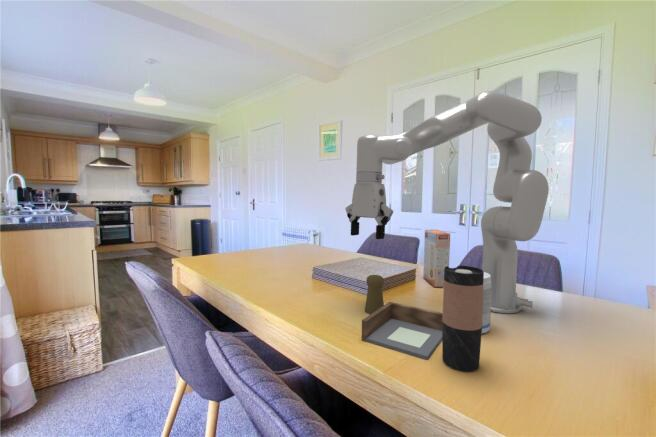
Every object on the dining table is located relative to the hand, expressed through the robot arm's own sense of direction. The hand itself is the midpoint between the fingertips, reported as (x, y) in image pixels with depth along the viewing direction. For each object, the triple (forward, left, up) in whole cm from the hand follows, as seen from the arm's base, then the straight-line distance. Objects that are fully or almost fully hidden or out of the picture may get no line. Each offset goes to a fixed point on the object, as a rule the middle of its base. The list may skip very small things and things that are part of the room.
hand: (366, 236), depth 94 cm
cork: (-2, -2, -23) cm, 23 cm away
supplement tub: (-28, -6, -23) cm, 37 cm away
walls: (-16, +9, -23) cm, 29 cm away
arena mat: (-16, +9, -23) cm, 29 cm away
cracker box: (-8, -44, -23) cm, 50 cm away
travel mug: (-30, +14, -23) cm, 41 cm away
